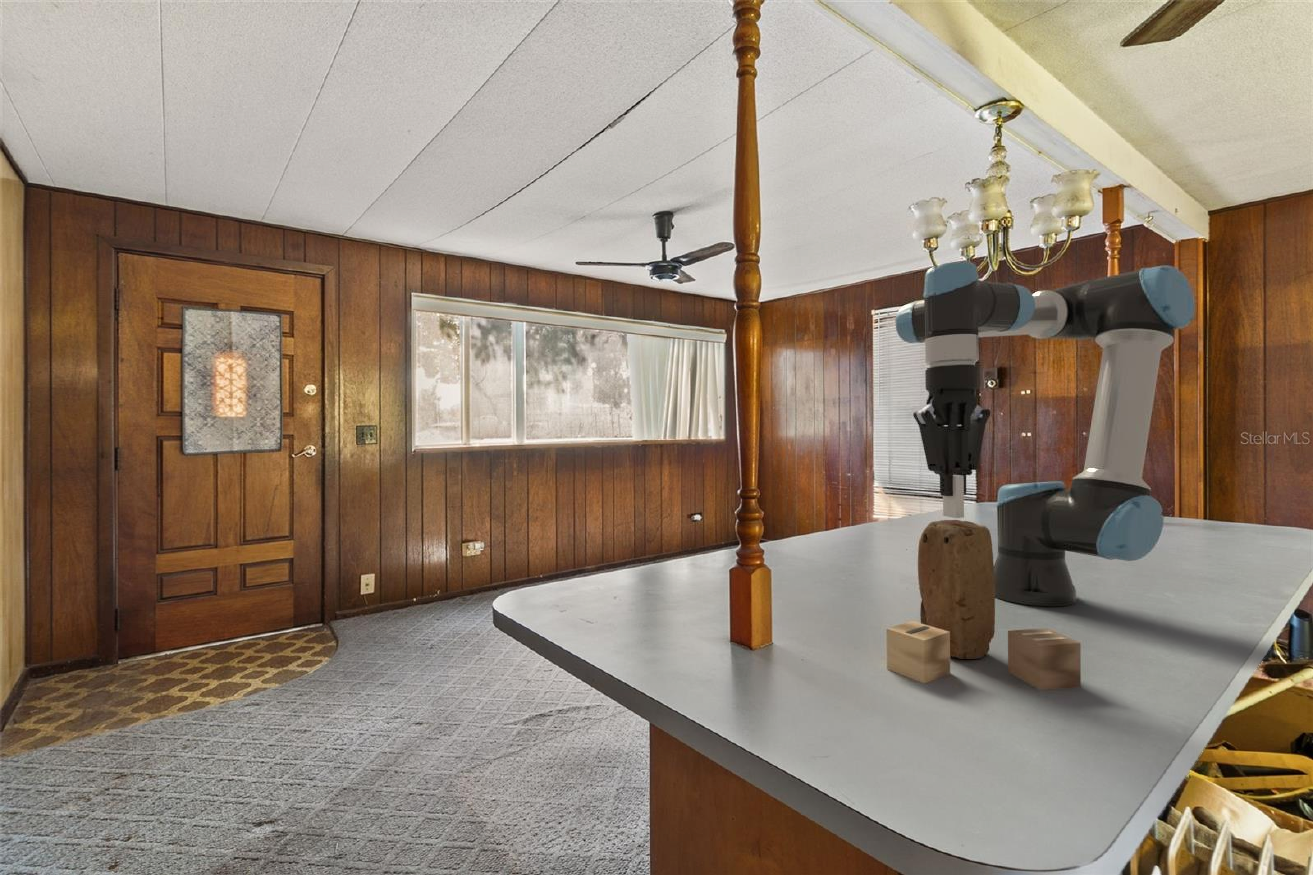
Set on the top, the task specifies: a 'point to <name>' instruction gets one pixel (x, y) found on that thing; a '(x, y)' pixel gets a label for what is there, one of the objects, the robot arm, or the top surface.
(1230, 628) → the top surface
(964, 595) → the block
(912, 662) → the cube one stripe
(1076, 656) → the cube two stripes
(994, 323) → the robot arm
